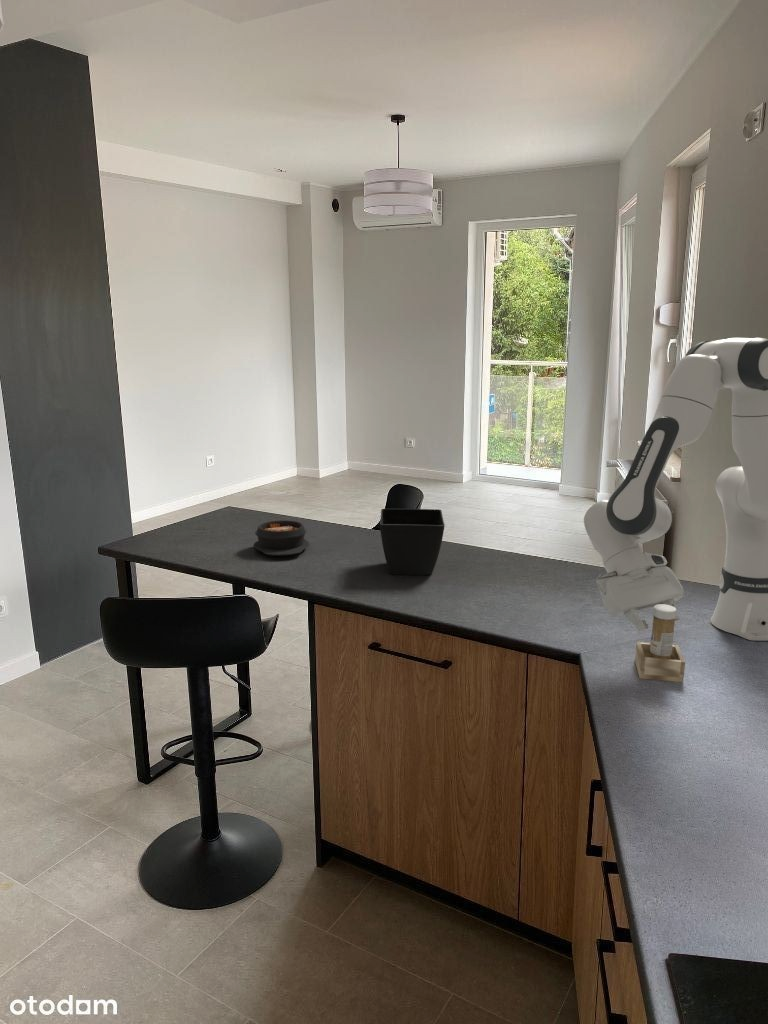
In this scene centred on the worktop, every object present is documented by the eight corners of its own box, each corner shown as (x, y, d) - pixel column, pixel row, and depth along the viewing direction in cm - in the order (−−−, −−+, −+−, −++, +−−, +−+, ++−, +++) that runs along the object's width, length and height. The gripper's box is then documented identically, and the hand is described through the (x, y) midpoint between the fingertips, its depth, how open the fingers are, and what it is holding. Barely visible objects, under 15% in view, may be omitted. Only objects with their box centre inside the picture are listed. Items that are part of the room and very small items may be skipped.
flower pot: (443, 579, 214) (445, 524, 210) (379, 578, 215) (379, 523, 211) (440, 560, 233) (441, 508, 229) (381, 559, 233) (381, 508, 229)
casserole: (252, 541, 254) (251, 518, 252) (305, 538, 257) (305, 515, 255) (254, 562, 230) (253, 536, 228) (313, 559, 234) (312, 533, 232)
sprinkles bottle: (644, 662, 157) (649, 603, 154) (664, 661, 158) (670, 603, 155) (653, 671, 153) (659, 611, 150) (674, 670, 153) (680, 610, 150)
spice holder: (676, 664, 159) (678, 645, 158) (683, 682, 151) (685, 662, 150) (634, 660, 161) (636, 641, 159) (639, 678, 152) (641, 658, 151)
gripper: (601, 568, 153) (633, 628, 147) (669, 555, 162) (702, 610, 156) (585, 582, 158) (615, 640, 152) (652, 569, 167) (683, 623, 161)
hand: (660, 625), depth 154 cm, fingers open, 8 cm apart
